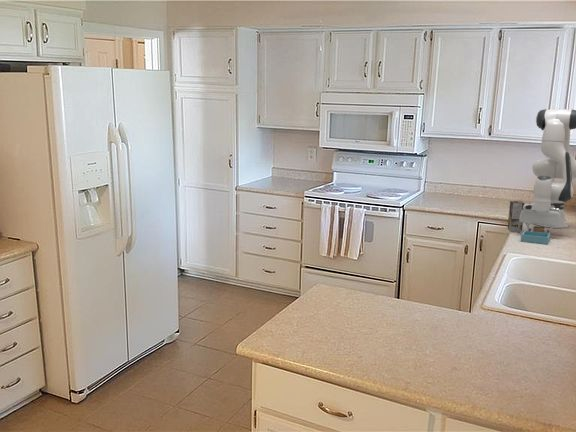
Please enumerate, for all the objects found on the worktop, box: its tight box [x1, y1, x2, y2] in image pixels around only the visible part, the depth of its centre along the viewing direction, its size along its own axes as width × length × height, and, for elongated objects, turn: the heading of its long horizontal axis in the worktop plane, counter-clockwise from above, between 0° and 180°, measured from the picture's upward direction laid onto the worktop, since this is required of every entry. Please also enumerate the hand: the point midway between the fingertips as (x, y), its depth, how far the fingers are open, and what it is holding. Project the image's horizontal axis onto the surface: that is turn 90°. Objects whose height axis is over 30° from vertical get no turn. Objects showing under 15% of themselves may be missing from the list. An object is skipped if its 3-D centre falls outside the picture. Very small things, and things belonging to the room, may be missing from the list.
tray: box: [520, 230, 551, 245], centre depth 291 cm, size 13×13×4 cm
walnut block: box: [532, 225, 546, 233], centre depth 302 cm, size 5×5×5 cm
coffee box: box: [507, 200, 526, 233], centre depth 315 cm, size 9×6×16 cm
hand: (538, 232), depth 302 cm, fingers open, 8 cm apart
